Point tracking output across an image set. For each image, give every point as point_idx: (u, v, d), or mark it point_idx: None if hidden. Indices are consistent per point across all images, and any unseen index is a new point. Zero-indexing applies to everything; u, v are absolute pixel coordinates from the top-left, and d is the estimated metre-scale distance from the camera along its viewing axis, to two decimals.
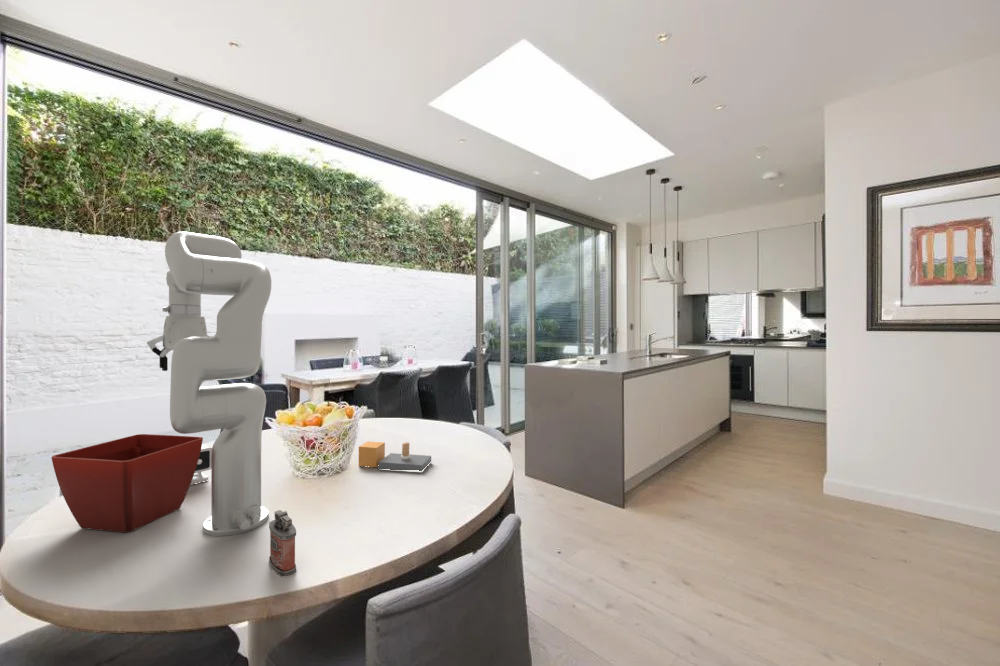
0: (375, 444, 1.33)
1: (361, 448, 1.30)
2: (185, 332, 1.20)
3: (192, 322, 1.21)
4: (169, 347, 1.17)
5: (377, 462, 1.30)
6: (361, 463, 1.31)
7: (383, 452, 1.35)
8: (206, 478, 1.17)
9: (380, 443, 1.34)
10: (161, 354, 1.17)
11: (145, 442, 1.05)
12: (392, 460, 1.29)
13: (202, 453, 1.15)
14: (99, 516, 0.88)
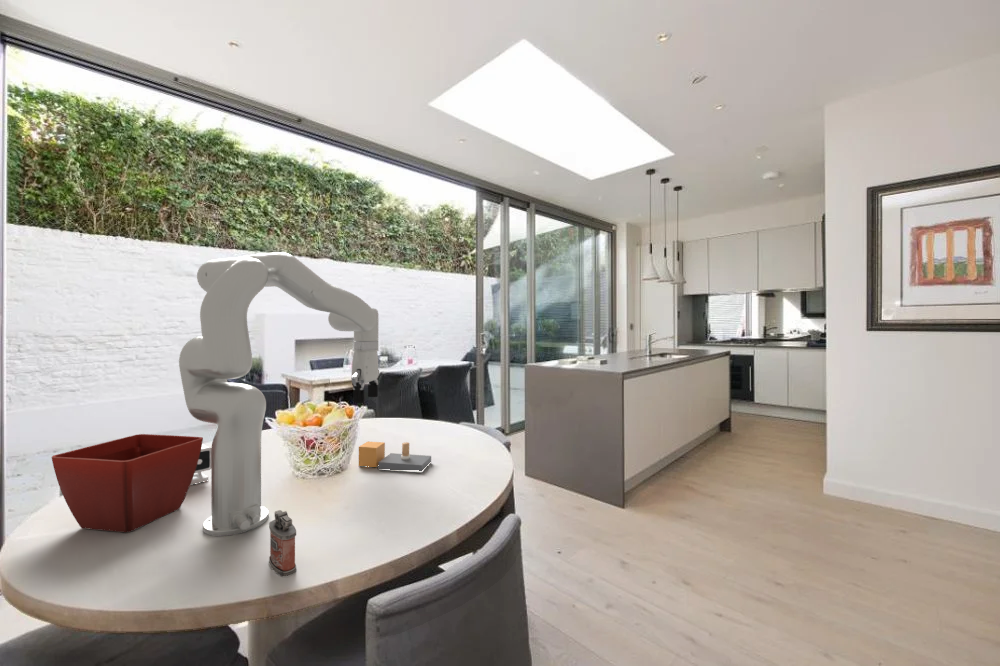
0: (375, 444, 1.33)
1: (361, 448, 1.30)
2: None
3: None
4: None
5: (377, 462, 1.30)
6: (361, 463, 1.31)
7: (383, 452, 1.35)
8: (206, 478, 1.17)
9: (380, 443, 1.34)
10: None
11: (145, 442, 1.05)
12: (392, 460, 1.29)
13: (202, 453, 1.15)
14: (99, 516, 0.88)
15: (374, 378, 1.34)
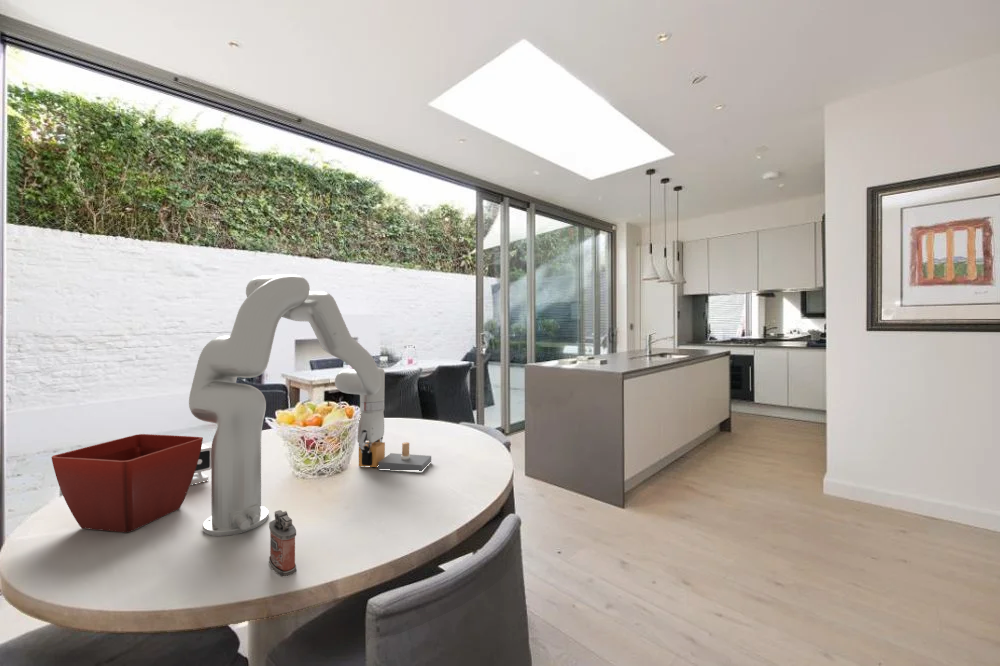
0: (375, 444, 1.33)
1: None
2: None
3: None
4: None
5: (377, 462, 1.31)
6: (361, 463, 1.31)
7: (383, 452, 1.35)
8: (206, 478, 1.17)
9: (380, 443, 1.34)
10: None
11: (145, 442, 1.05)
12: (392, 460, 1.29)
13: (202, 453, 1.15)
14: (99, 516, 0.88)
15: (380, 437, 1.34)
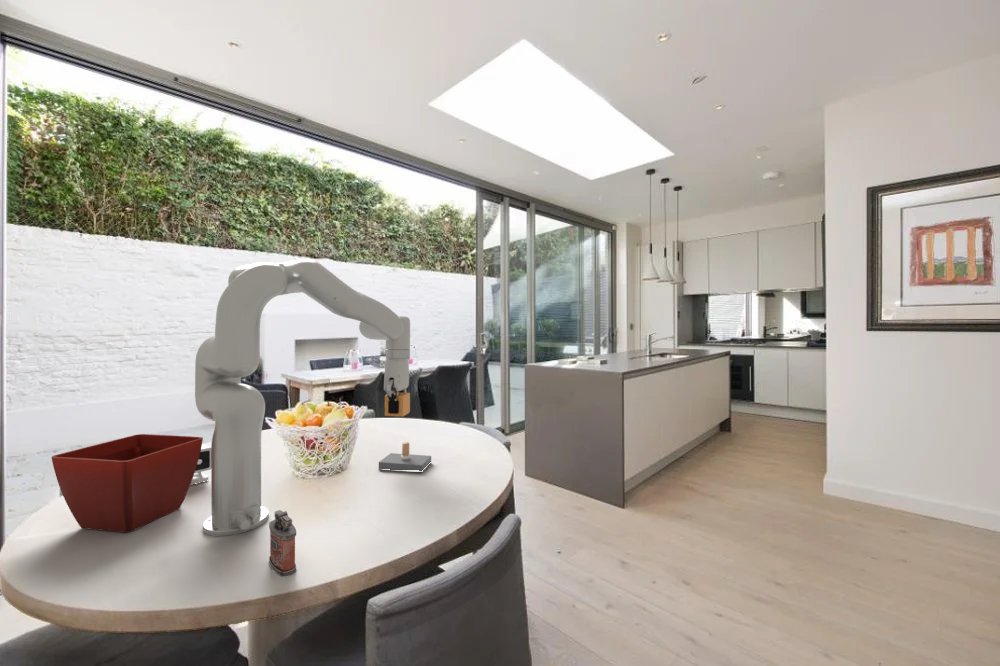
0: (401, 393, 1.32)
1: (387, 397, 1.29)
2: None
3: None
4: None
5: (403, 411, 1.29)
6: (387, 412, 1.29)
7: (408, 402, 1.33)
8: (206, 478, 1.17)
9: (405, 393, 1.33)
10: None
11: (145, 442, 1.05)
12: (392, 460, 1.29)
13: (202, 453, 1.15)
14: (99, 516, 0.88)
15: (405, 386, 1.33)
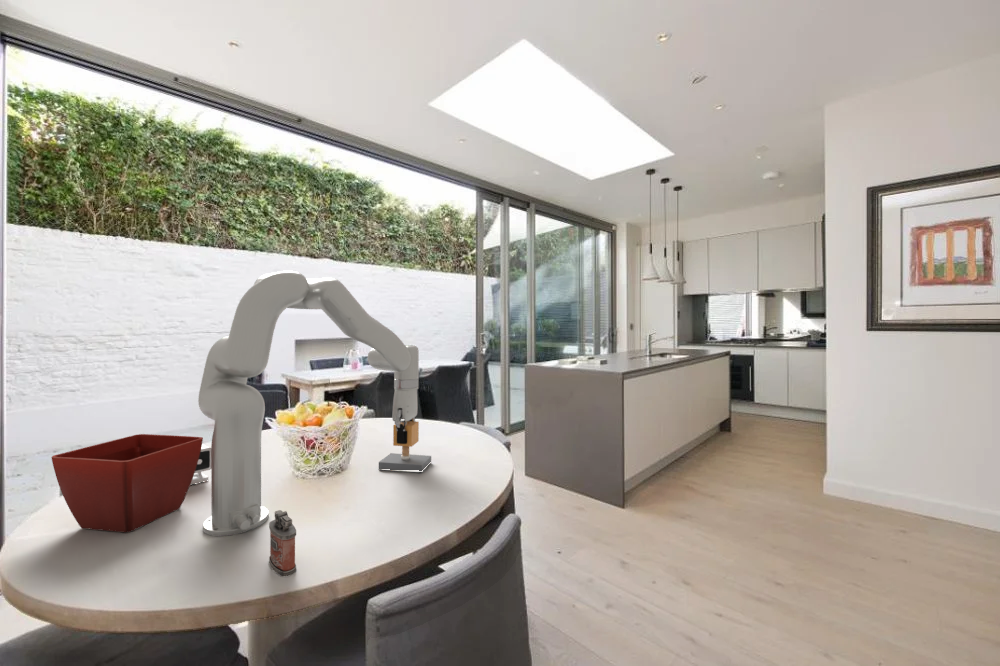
0: (409, 423, 1.31)
1: None
2: None
3: None
4: None
5: (412, 441, 1.29)
6: (396, 442, 1.29)
7: (417, 431, 1.33)
8: (206, 478, 1.17)
9: (414, 422, 1.32)
10: None
11: (145, 442, 1.05)
12: (392, 460, 1.29)
13: (202, 453, 1.15)
14: (99, 516, 0.88)
15: (414, 416, 1.32)
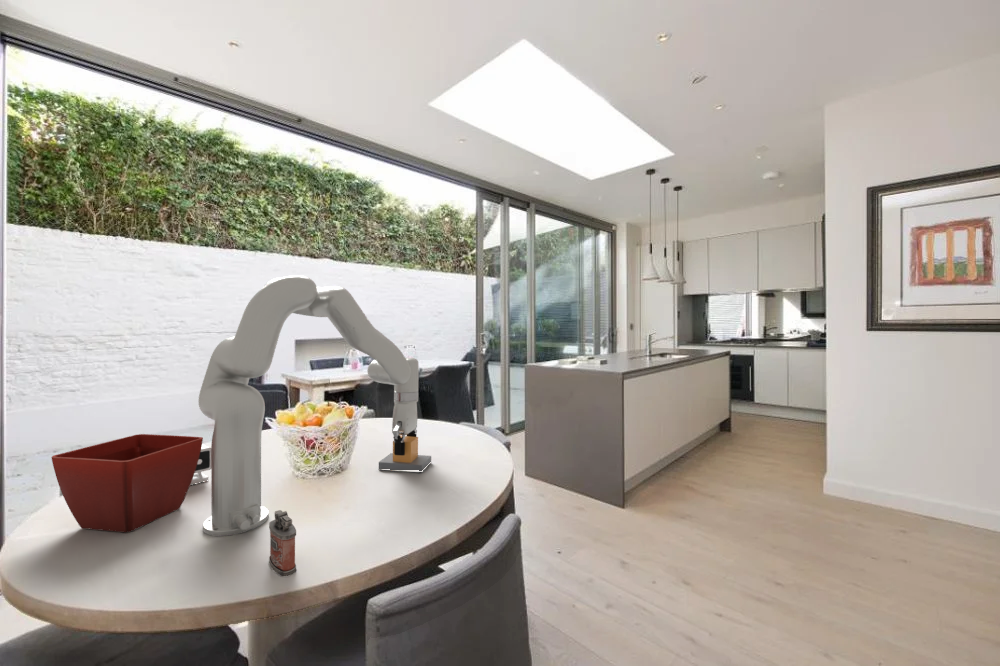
0: (409, 438, 1.31)
1: None
2: None
3: None
4: None
5: (411, 457, 1.29)
6: (395, 458, 1.29)
7: (416, 447, 1.33)
8: (206, 478, 1.17)
9: (414, 437, 1.32)
10: None
11: (145, 442, 1.05)
12: (392, 460, 1.29)
13: (202, 453, 1.15)
14: (99, 516, 0.88)
15: (413, 428, 1.32)
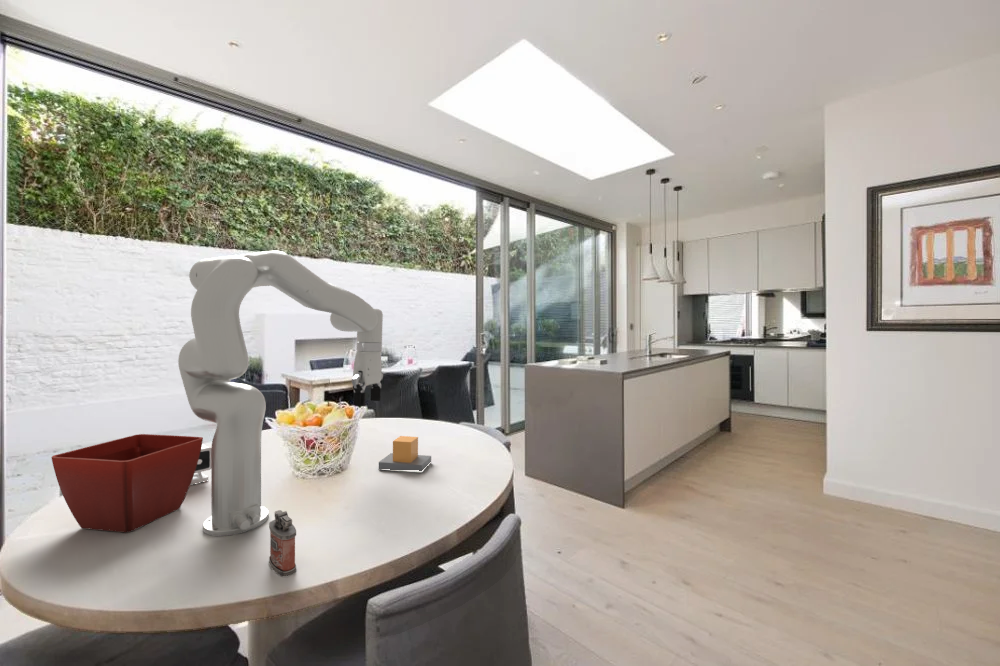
0: (409, 438, 1.31)
1: (395, 442, 1.29)
2: None
3: None
4: None
5: (411, 457, 1.29)
6: (395, 458, 1.29)
7: (416, 447, 1.33)
8: (206, 478, 1.17)
9: (414, 437, 1.32)
10: None
11: (145, 442, 1.05)
12: (392, 460, 1.29)
13: (202, 453, 1.15)
14: (99, 516, 0.88)
15: (376, 381, 1.29)
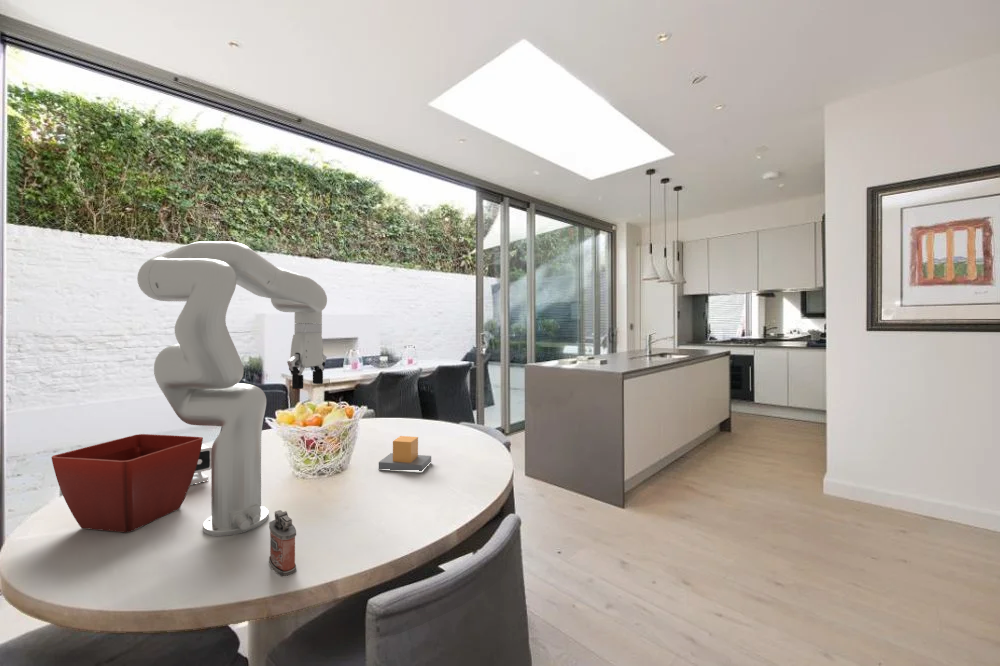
0: (409, 438, 1.31)
1: (395, 442, 1.29)
2: None
3: None
4: None
5: (411, 457, 1.29)
6: (395, 458, 1.29)
7: (416, 447, 1.33)
8: (206, 478, 1.17)
9: (414, 437, 1.32)
10: None
11: (145, 442, 1.05)
12: (392, 460, 1.29)
13: (202, 453, 1.15)
14: (99, 516, 0.88)
15: (317, 363, 1.26)
